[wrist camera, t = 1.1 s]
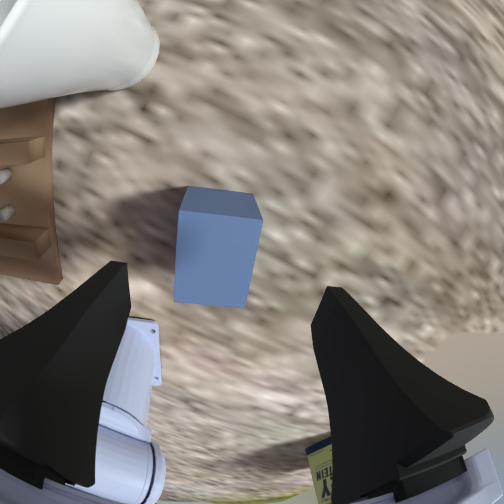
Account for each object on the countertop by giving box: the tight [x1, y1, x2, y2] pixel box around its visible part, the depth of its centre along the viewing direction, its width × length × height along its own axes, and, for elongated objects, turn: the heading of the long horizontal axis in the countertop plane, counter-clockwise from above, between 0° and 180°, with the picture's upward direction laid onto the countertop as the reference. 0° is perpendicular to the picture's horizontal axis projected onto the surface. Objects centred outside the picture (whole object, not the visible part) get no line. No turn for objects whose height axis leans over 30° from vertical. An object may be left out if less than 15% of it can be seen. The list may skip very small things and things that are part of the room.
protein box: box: [305, 437, 332, 504], centre depth 36 cm, size 10×16×16 cm
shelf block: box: [174, 186, 263, 308], centre depth 19 cm, size 6×4×5 cm
